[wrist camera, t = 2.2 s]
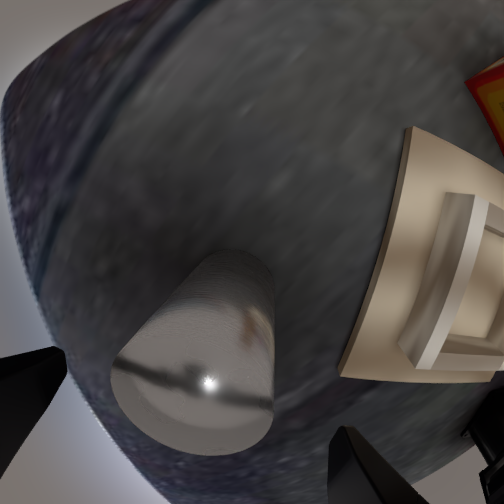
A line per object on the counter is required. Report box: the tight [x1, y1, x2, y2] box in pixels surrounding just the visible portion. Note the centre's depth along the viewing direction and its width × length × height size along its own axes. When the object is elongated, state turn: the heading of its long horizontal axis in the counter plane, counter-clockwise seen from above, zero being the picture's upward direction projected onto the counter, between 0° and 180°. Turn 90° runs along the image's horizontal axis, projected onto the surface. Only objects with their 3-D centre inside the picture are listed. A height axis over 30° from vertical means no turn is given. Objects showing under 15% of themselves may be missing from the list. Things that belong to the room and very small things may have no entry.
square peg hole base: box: [338, 126, 504, 383], centre depth 14 cm, size 16×16×4 cm
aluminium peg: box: [111, 249, 275, 456], centre depth 12 cm, size 5×5×10 cm
